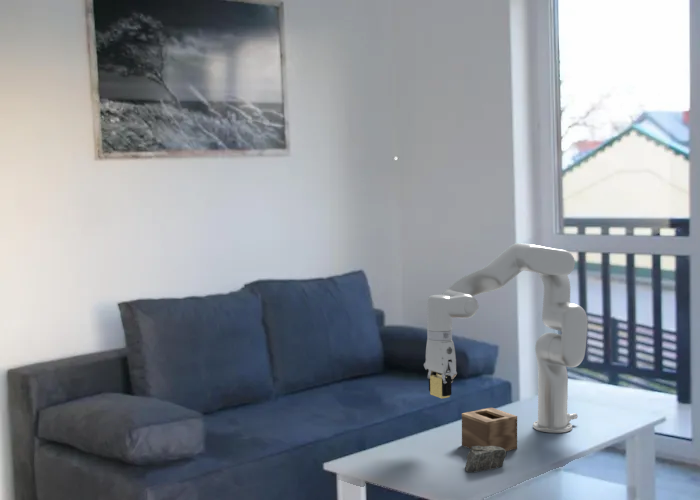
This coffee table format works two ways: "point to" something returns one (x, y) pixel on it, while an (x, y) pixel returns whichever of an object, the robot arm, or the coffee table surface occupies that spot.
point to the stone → (485, 458)
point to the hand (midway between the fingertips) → (440, 392)
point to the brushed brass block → (436, 386)
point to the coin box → (489, 429)
